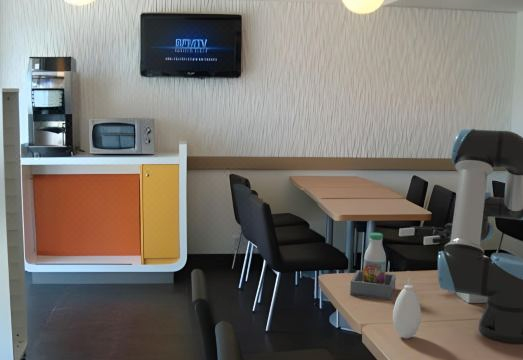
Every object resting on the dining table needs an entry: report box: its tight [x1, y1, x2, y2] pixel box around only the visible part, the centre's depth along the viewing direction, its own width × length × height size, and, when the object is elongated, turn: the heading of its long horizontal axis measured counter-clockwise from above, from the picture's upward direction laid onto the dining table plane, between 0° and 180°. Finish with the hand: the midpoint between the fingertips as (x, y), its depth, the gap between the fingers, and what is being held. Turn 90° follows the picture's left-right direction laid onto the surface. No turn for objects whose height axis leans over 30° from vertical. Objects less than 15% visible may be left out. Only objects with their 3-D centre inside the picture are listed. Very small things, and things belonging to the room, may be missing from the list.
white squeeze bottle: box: [392, 276, 422, 339], centre depth 169 cm, size 8×8×18 cm
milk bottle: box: [362, 232, 387, 285], centre depth 208 cm, size 8×8×20 cm
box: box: [349, 269, 397, 301], centre depth 209 cm, size 14×14×5 cm
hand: (411, 236), depth 212 cm, fingers open, 13 cm apart
